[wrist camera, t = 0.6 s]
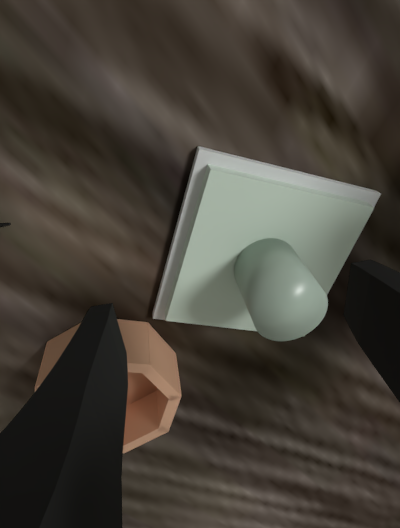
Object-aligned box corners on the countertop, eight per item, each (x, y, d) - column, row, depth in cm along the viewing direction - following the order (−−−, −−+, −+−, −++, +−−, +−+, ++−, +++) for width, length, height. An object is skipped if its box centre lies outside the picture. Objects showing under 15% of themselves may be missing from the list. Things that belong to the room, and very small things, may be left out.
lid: (366, 201, 21) (423, 244, 17) (299, 328, 25) (332, 386, 21) (207, 163, 18) (229, 202, 14) (164, 312, 22) (171, 374, 18)
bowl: (184, 326, 24) (192, 367, 21) (157, 409, 28) (160, 453, 25) (50, 311, 22) (37, 355, 19) (40, 403, 26) (29, 451, 23)
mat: (376, 190, 21) (381, 193, 20) (301, 331, 26) (304, 335, 25) (197, 146, 18) (199, 148, 18) (152, 313, 23) (152, 318, 23)
